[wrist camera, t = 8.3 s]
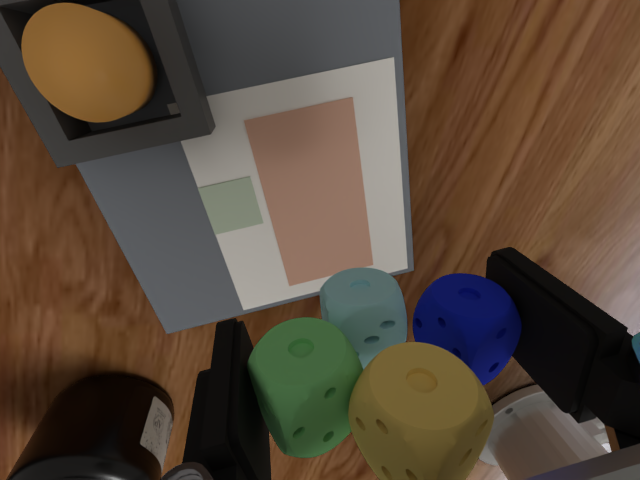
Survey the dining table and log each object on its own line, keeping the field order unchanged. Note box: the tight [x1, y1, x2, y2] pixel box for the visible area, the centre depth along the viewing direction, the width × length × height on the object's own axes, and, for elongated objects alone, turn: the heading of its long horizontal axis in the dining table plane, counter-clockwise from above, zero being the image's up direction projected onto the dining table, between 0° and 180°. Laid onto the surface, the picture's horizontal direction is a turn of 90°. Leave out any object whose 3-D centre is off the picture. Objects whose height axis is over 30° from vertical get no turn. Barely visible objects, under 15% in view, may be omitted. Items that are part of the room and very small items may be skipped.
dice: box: [247, 268, 522, 480], centre depth 9 cm, size 8×3×6 cm, turn 94°
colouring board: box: [0, 0, 414, 334], centre depth 19 cm, size 18×20×4 cm
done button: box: [21, 3, 158, 122], centre depth 14 cm, size 4×4×2 cm
